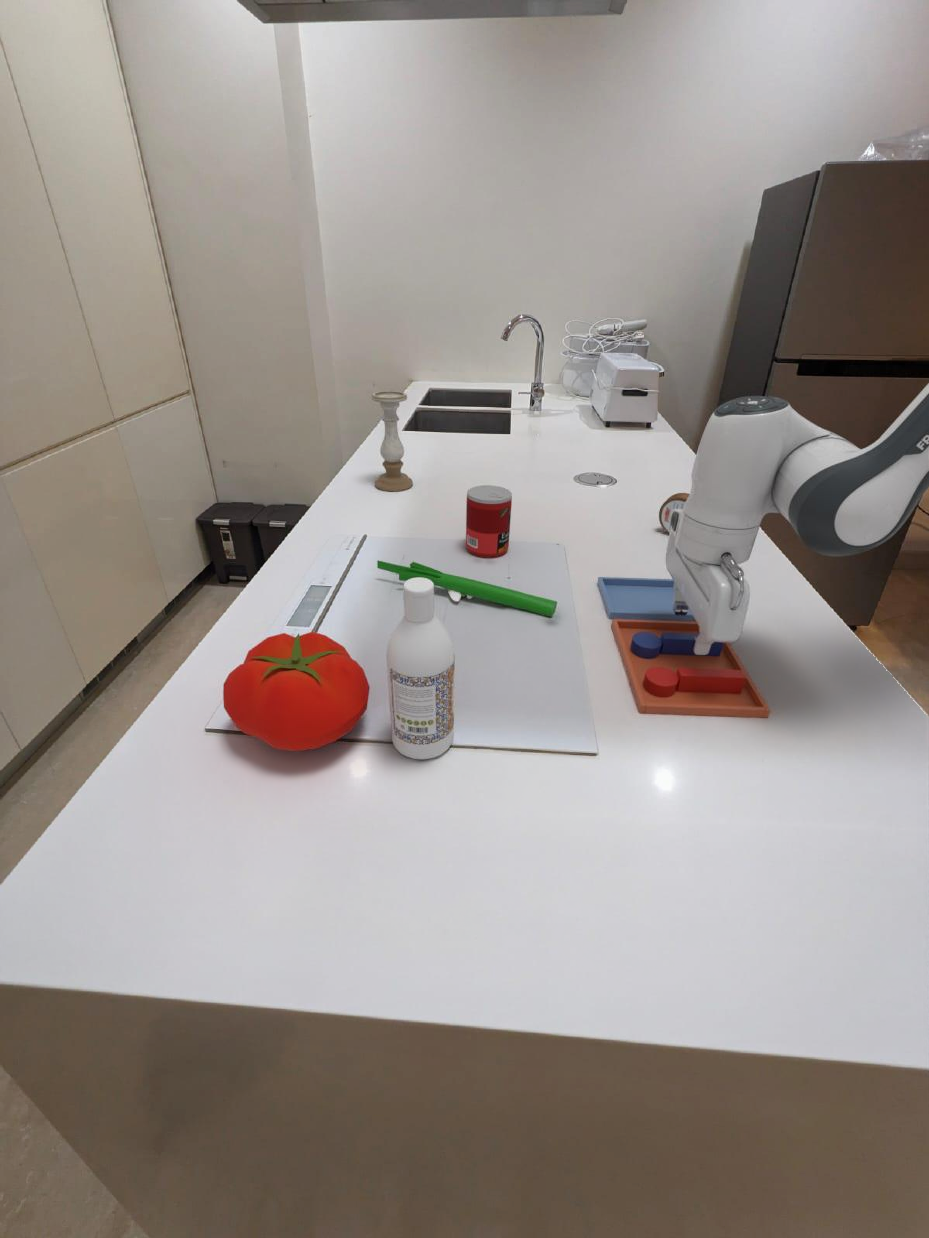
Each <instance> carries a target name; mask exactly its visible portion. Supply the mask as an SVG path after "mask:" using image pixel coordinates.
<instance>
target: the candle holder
mask: <svg viewBox="0 0 929 1238" xmlns="http://www.w3.org/2000/svg"><path fill="white" fill-rule="evenodd" d="M371 400H372V401H374V402H377V403H379V406H380V407H381V409H382V410H383V416H382V418H381V421H382V422H384V436H383V439H382V443H381V445H380V449H379V452H380V456H381V457H382V460H384V461H383V462H382V466H383V468H384V469H385V472H383V473H381V474H380V475H379V476H378V478H376V479H375V480H374V486H375V487H376V489H378V490H381V491H385V492H403V491H406V490H408V489H410V488H412V487H413V483H414V482H413V479H412V478H411V477H410V476H408V475H407V473H404V472H402V467H403V466H404V462H403V461H402V458H404V455H405V449H404V446H403V443H402V441H401V439H400V437H399V432H398V422H399V421H400V417H399V415H398V413H397V412H398V411H397V410H398V409H399V407H400V403H401V402H405V401H407V400H408V395H407V394H406V393H405V392H403V391H399V390H398V391H397V390H396V391H395V390H383V391H376V392H373V393H372V395H371Z"/></svg>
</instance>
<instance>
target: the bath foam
mask: <svg viewBox="0 0 929 1238" xmlns="http://www.w3.org/2000/svg"><path fill="white" fill-rule="evenodd" d="M402 591H403V592H402V593H403V612H404V615H403V617H402V618H401V620H400V621H399V622H398V623H397V625H396V626H395V628H394V629H393V631H392V633H391V635H390V637H389V640H388V642H387V648H386V672H387V685H388V687H387V688H388V700H389V714H390V716H389V717H390V729H391V740H392V745H393V746H394V748H395V749H396V750H397V752H398V753H400V754H401V755H403V756H405V757H407V758H410V759H413V760H429V759H434V758H437V757H439V756H441V755H442V754H444V753H445V752H447V751H448V750H449V748H450V747H451V746H452V744H453V741H454V736H455V735H454V734H455V733H454V732H455V667H456V665H455V662H456V661H455V660H456V659H455V658H456V657H455V656H456V655H455V649H454V643H453V640H452V638H451V636H450V635H451V634H449V632H448V630H447V628H446V627H445V626H444V624H443V623H442V622H441V621H440V619H439V618H438V617H437V616H436V615H435V585H434V584H433V582H432V581H431V580H429V579H427V578H421V577H417V578H411V579H409V580H407V581H404V583H403V586H402Z"/></svg>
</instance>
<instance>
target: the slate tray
mask: <svg viewBox="0 0 929 1238" xmlns="http://www.w3.org/2000/svg"><path fill="white" fill-rule="evenodd" d="M597 577H598V578H597V582H596V583H597V588H598V590H599V593H600V596H601V599H602V602H603V603H602V604H603V607H604V608H605V612H606V615H607V618H608V620H612V619H630V620H659V621H688V622H696V620H695V618H694V617H693V615H692V613H691V611H690V609H688V612H687V614H686V615H685V616H682V615H675V613H674V611H673V609H672V605H673V601H674V581H673V579H672V578H644V577H642V578H641V577H618V576H617V577H616V576H615V577H614V576H597Z"/></svg>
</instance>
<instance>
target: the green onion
mask: <svg viewBox="0 0 929 1238" xmlns="http://www.w3.org/2000/svg"><path fill="white" fill-rule="evenodd" d="M376 565H377V567H376V568H377V569H378V570H383V571H385V572H386V571H387V572H389V573H393V574H398V580H399V581H401V582H406V581H407V580H409V579H411V578H417V577H421V578H427V579H429V580H431V581H432V582H433V584H434V587H440V588H443V589H445V590H448V591H447V594H448V595H449V597H450V598H451V600H452V601H454V602H459V601H461V598H462V597H463V598H465V597H466V599H468V600H469V599H470V600H471V599H472V598H478V599H482V600H485V601H489V602H493V603H497V604H500V605H503V606H507V607H511V608H516V609H520V610H524V611H528V612H532V613H536V614H539V615H542V616H547V617H549V618H552V617H553V616H554V614H555V612H556V609H557V606H558V601H557V600H553V599H549V598H545V597H542V596H541V597H540V596H536V595H533V594H529V593H525V592H523V591H522V592H521V591H518V590H514V589H510V588H507V587H503V586H499V585H496V584H491V583H487V582H483V581H480V580H475V579H471V578H467V577H463V576H458V575H453V574H449V573H445V572H442V571H441V570H438V569H435V568H432V567H430V566H427V565H424V564H421V563H418V562H415V561H412V562H411V563H410V564H409V566H405V565H400V564H396V563H391V562H387V561H383V560H376Z"/></svg>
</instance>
